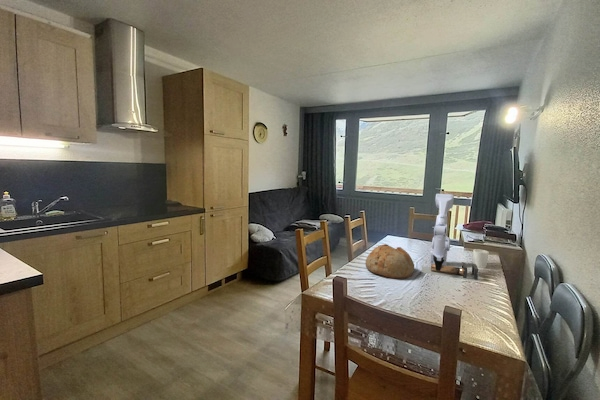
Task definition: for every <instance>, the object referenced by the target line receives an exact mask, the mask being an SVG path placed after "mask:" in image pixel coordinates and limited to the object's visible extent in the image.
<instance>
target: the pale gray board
mask: <svg viewBox="0 0 600 400" xmlns="http://www.w3.org/2000/svg"><path fill="white" fill-rule="evenodd" d="M422 273H424V274H430V275H437V276H442V277H447V278H448V277H450V278H456V279H462V280H468V281H475V282H482V279H481V278H480V276H479V274H478V278H477V280H474V275H472V272H467V278H463V275H457V274H450V273H443V272H437V271H431V266H423V265H422V266H421V274H422Z"/></svg>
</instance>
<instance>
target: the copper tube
mask: <svg viewBox="0 0 600 400" xmlns="http://www.w3.org/2000/svg"><path fill="white" fill-rule="evenodd" d="M430 267H431V271H437V270H436V268H435V264H430ZM463 270H464V268H462V267H459V266H458V267H457V266H451V265H447V266H445V265H442V266H441V270H440V271H437V272H443V273H450V274H457V275H463Z"/></svg>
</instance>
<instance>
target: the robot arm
mask: <svg viewBox="0 0 600 400" xmlns="http://www.w3.org/2000/svg"><path fill="white" fill-rule="evenodd" d="M454 199H455V195H454V194H451V193H439V192H438V193H436V194H435V207H436V208H437V209H439V210H438V211H439V214H437V215H436V220H435V225H434V228H433V237H432V240H431V249H430V252H429V253H430V254H429V260H428V261H429V265H431V264H435V268H436V270H437V271H440V270H441V266H442V265H445V266H448V265H447V258H448V257H447V256H448V252H450V251H451V249H450V247H451V239H450V237H449V236H447V235H448V218H449V217H448V212H449V210H450V209H453V206H454V202H455V201H454Z"/></svg>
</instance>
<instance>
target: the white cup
mask: <svg viewBox="0 0 600 400" xmlns="http://www.w3.org/2000/svg"><path fill="white" fill-rule="evenodd" d="M489 254H490V253H489V251H488V250H487V249H486V250H485V249H481V248H473V249H472V263H473V264H476V266H477V268H478V269H480V268H481V269H485V268H487V264H488V259H489Z"/></svg>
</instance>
